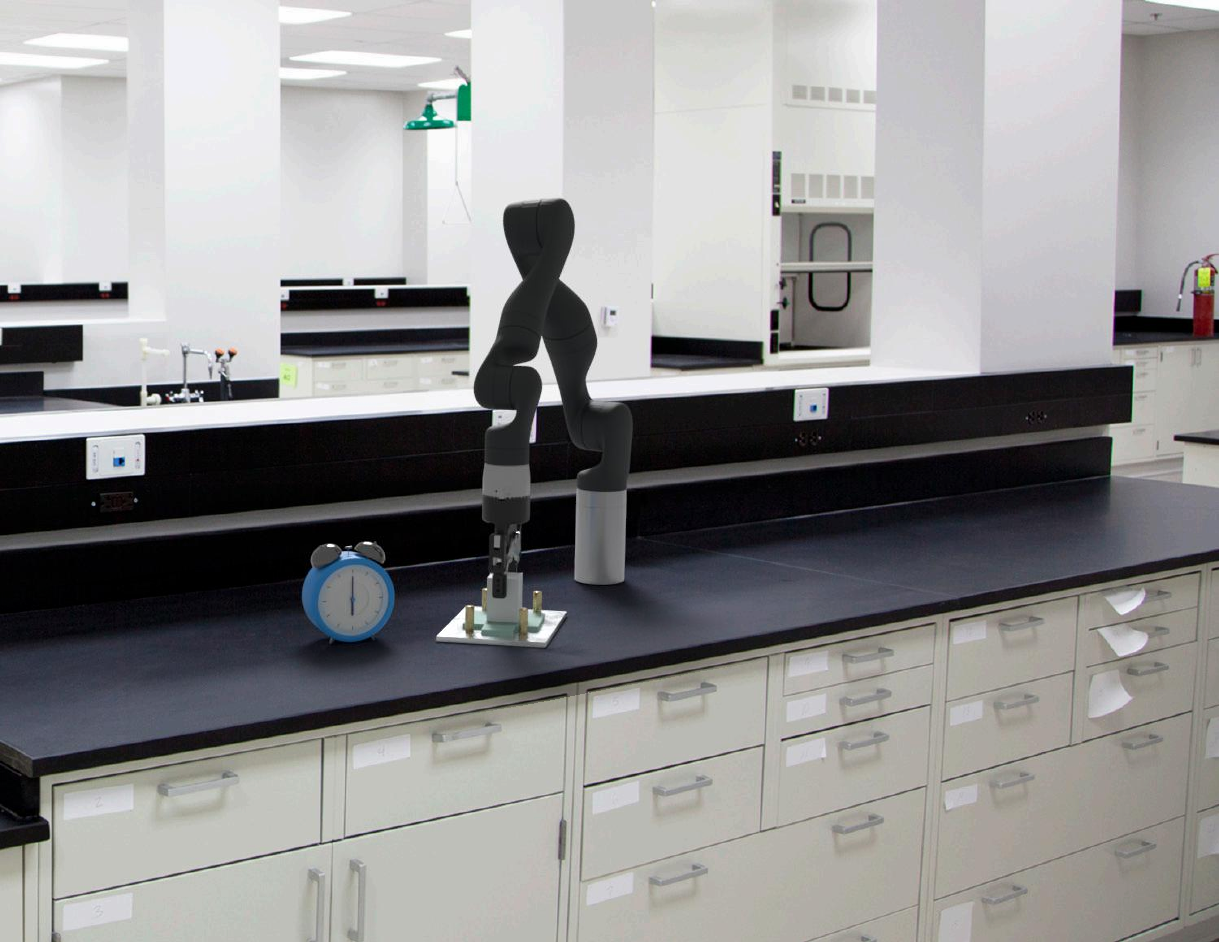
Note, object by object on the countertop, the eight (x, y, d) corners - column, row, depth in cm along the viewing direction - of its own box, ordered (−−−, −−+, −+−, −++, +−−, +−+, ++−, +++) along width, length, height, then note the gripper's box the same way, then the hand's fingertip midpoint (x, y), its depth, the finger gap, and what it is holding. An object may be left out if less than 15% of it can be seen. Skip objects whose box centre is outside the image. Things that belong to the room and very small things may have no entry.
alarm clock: (311, 647, 226) (311, 549, 224) (300, 637, 231) (300, 541, 229) (395, 639, 231) (396, 544, 229) (383, 630, 237) (383, 537, 235)
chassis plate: (466, 610, 252) (466, 582, 251) (566, 616, 250) (567, 587, 249) (436, 641, 231) (436, 610, 230) (545, 647, 229) (546, 616, 228)
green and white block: (475, 610, 249) (475, 563, 248) (547, 613, 248) (548, 566, 247) (458, 633, 233) (459, 584, 232) (535, 637, 232) (536, 587, 231)
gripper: (492, 484, 245) (490, 581, 247) (473, 497, 231) (471, 600, 233) (537, 486, 244) (535, 584, 246) (521, 499, 230) (519, 603, 232)
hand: (504, 592), depth 240 cm, fingers open, 8 cm apart
